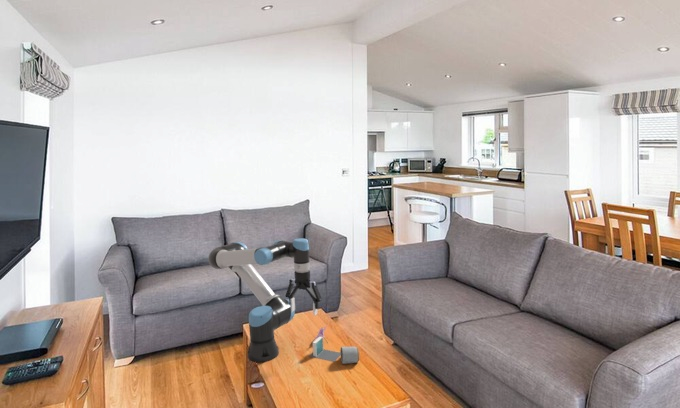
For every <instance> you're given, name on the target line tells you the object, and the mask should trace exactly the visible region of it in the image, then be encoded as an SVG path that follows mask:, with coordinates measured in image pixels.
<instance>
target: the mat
mask: <svg viewBox="0 0 680 408" xmlns="http://www.w3.org/2000/svg"><path fill="white" fill-rule="evenodd" d="M308 357H309V358H310V357H311V358H314V359H320V360H324V361H329V362H334V363H335V362H336V361H337V360H338V359H339V358H340V357H341V353H340V352H339V351H335V350H334V351H333V350H329V349H324V348H323V351H322V352H321V353H320V354H319V355H318V356H317V357H315V356H313V352H312V353H310V354H309V355H308Z"/></svg>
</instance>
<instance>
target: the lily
mask: <svg viewBox="0 0 680 408" xmlns="http://www.w3.org/2000/svg"><path fill="white" fill-rule="evenodd" d="M327 327H328V325H326V326H325V327H321V328H320V329H319V331H318V332H317V335H316V336H315V337H314V338H313V340H312V341H311V343H313V342H314V341H315V340H316V339H317V338H318V337H323V340H325V341H326V343H327V344H328V340H327V338H326V337H325V330H326V328H327Z"/></svg>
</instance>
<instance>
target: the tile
mask: <svg viewBox="0 0 680 408" xmlns="http://www.w3.org/2000/svg"><path fill="white" fill-rule="evenodd" d="M323 349H324V338H323V337H318V338H316V339H315V340H314V341H313V342H312V353H313V356H315V357H317V356H318V355H319V354H320V353H321V352H322V351H323Z"/></svg>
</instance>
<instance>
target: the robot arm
mask: <svg viewBox="0 0 680 408" xmlns="http://www.w3.org/2000/svg"><path fill="white" fill-rule="evenodd" d="M284 258H291V259H293V267H294V278H291V279H289V283H288V287H287V290H286V293H285V298H283V297H282V296H281V294H276V293H275V292H274V291H273V289H272V288H271V286H270V285H269V284H268V283H267V282H266V280H265V279H264V278H263V277H262V276H261V274H260V273H259V271H257V269H256V268H255V266H254V265H257V264H258V265H259V266H265V265H269V264H270V263H273V262H275V261H279V260H281V259H284ZM207 260H208V264H209V265H210V267H211V268H213V269H215V270H223V269H228V268H229V269H230V271H232V272H234V273H236V274H238V276H239V277H240V279H241V280H242V281H243V282H244V284H245V285H246V287H248V289H249V290H250V291H251V292H252V294H253V295H254V296H255V298H256V299H257V300H258V301H259V302H260V304H261V306H257V307H254V308H253V309H251V310H250V312H249V314H248V326H249V327H248V328H249V340H250V342H249V345H248V350H247V358H248V360H249V361H251V362H252V363H260V364H261V363H266V362H270V361H273V360H274V359H276V358H277V357H278V356H279V353H280V351H279V349H280V348H279V347H278V345H277V342H276V338H275V330H278V329H279V328H281V327H282V326H284V325H286V324H288V323H289V322H291V321H292V320H293V319H294V317H295V314H296V313H295V312H296V299H295V297H294V296H295V295H296V293H298V290H303V291H305V292H307V293H308V295H309V297H310V298H311V299H312V301H313V302H312V314H313V317H314V316H315V317H316V315H318V309H319V307H320V306H319V305H320V304H319V303H320V302H321V301H322V300H323V298H322V296H321V293H320V291H319V288H318V286H317V281H316V280H314V281H311V266H310V265H311V264H310V245H309V240H308V239H307V238H304V237H303V238H301V237H300V238H295V239H293V241H287V240H276V241H275V242H274V243H273V244H272V245H269V246H263V247H256V248H254V247H253V248H248V247H247V245H246V244H245V243H243V242H241V241H240V242H239V241H237V242H230V243H228V244H225V245H221V246H218V247H215V248H213V249H212V250H211V251H210V252H209V255H208V259H207ZM294 285H295V286H294ZM293 287H294V288H293ZM287 298H288V299H287Z"/></svg>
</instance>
